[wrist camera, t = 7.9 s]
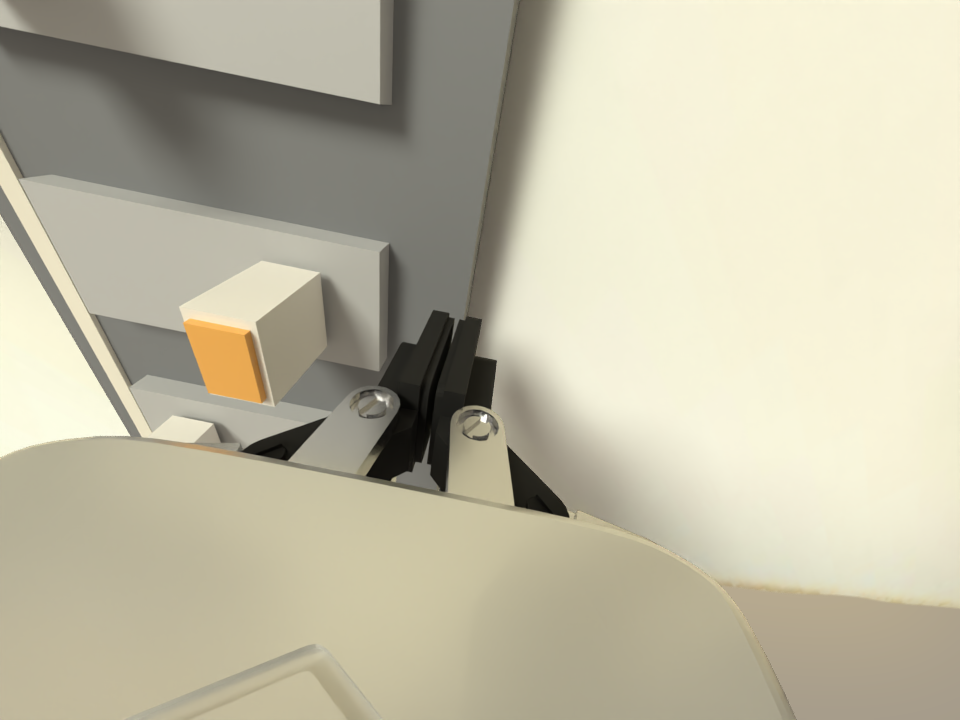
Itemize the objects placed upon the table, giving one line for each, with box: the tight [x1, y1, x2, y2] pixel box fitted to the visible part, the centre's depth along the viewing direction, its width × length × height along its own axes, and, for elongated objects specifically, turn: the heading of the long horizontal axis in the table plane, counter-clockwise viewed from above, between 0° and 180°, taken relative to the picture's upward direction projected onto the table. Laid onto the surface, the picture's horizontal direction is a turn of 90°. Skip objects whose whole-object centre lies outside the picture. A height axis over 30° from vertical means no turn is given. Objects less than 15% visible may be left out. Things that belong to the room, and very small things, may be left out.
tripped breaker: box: [179, 261, 327, 407], centre depth 11 cm, size 2×3×4 cm, turn 171°
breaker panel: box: [0, 0, 519, 491], centre depth 14 cm, size 18×28×3 cm, turn 171°
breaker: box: [147, 415, 221, 443], centre depth 17 cm, size 2×3×4 cm, turn 170°
